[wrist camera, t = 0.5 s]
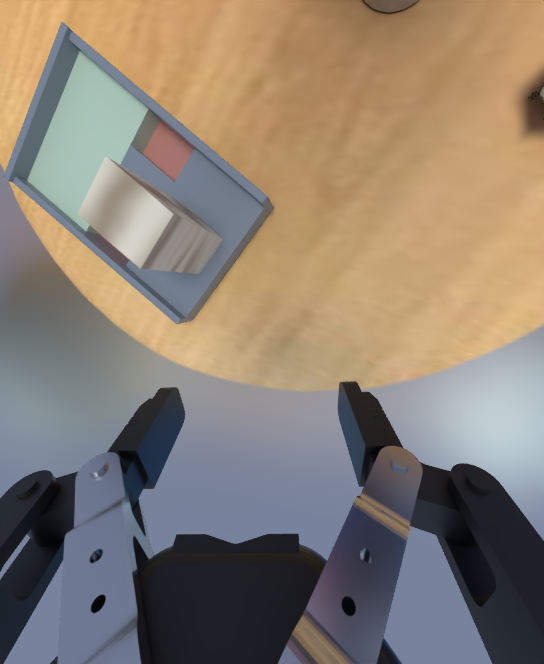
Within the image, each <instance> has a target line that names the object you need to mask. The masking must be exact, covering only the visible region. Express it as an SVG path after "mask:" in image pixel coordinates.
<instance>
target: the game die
mask: <svg viewBox="0 0 544 664" xmlns="http://www.w3.org/2000/svg"><path fill="white" fill-rule="evenodd" d="M538 95H539V96H540V98H541V99H542V101H543V103H544V84H543V86H542V88H541V90H540V91H539V92H537V91H536V92H535V93H532V94H531V95H530V96H529V97H528V98H532V99H533V98H536V97H537V96H538ZM542 124H544V119H543V123H542Z"/></svg>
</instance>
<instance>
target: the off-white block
mask: <svg viewBox="0 0 544 664" xmlns="http://www.w3.org/2000/svg"><path fill="white" fill-rule="evenodd" d="M78 215H79V216H80V217H81V218H82V219H83V220H85V221H86V222H87V223H88V224H89V225H90V226H92V227H93V228H94V229H95V230H96V231H97V232H98V233H100V234H101V235H102V236H103V237H104V238H105V239H107V240H108V241H109V242H110V243H111V244H112V245H114V246H115V247H116V248H117V249H118V250H119V251H120V252H122V253H123V254H124V255H125V256H126V257H127V258H129V259H130V260H131V261H132V262H133V263H134V264H136V265H137V266H138V267H139V268H140V269H148V270H159V271H169V272H179V273H190V274H201V272H202V271H203V269H204V268H205V266H206V265H207V264H208V262H209V261H210V259H211V258H212V256H213V255H214V253H215V252H216V250H217V249H218V248H219V246H220V245H221V243H222V242H223V240H224V239H223V238H222V237H221V236H220V235H219V234H217V233H216V232H215V231H214V230H213V229H211V228H210V227H209V226H208V225H207V224H206V223H204V222H203V221H202V220H201V219H200V218H199V217H197V216H196V215H195V214H194V213H193V212H192V211H190V210H189V209H188V208H187V207H186V206H185V205H183V204H182V203H181V202H180V201H178V200H177V199H175V198H173V197H172V196H170V195H168V194H167V193H165V192H164V191H162V190H160V189H159V188H157V187H155V186H154V185H152V184H151V183H149V182H147V181H146V180H144V179H142V178H141V177H139V176H138V175H136V174H134V173H133V172H131V171H129V170H128V169H126V168H125V167H123V166H121V165H120V164H118V163H116V162H115V161H113V160H112V159H110V158H108V157H107V156H105V158H104V160H103V162H102V164H101V166H100V169H99V171H98V173H97V175H96V177H95V179H94V181H93V183H92V185H91V187H90V189H89V191H88V193H87V195H86V197H85V199H84V201H83V204H82V206H81V208H80V210H79V212H78Z"/></svg>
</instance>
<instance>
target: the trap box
mask: <svg viewBox="0 0 544 664" xmlns="http://www.w3.org/2000/svg"><path fill="white" fill-rule="evenodd" d="M105 156H107V157H108V158H110V159H112V160H113V161H115V162H116V163H118V164H120V165H121V166H123V167H125V168H126V169H128V170H129V171H131V172H133V173H134V174H136V175H138V176H139V177H141V178H142V179H144V180H146V181H147V182H149V183H151V184H152V185H154V186H155V187H157V188H159V189H160V190H162V191H164V192H165V193H167V194H168V195H170V196H172V197H173V198H175V199H177V200H178V201H180V202H181V203H182V204H183V205H185V206H186V207H187V208H188V209H189V210H190V211H192V212H193V213H194V214H195V215H196V216H197V217H199V218H200V219H201V220H202V221H203V222H204V223H206V224H207V225H208V226H209V227H210V228H211V229H213V230H214V231H215V232H216V233H217V234H219V235H220V236H221V237H222V238H223V239H224V240H223V242H222V243H221V245H220V246H219V248H218V249H217V250H216V252H215V253H214V255H213V256H212V258H211V259H210V261H209V262H208V264H207V265H206V266H205V268H204V269H203V271H202V272H201V274H190V273H179V272H169V271H159V270H148V269H140V268H139V267H138V266H137V265H136V264H134V263H133V262H132V261H131V260H130V259H129V258H127V257H126V256H125V255H124V254H123V253H122V252H120V251H119V250H118V249H117V248H116V247H115V246H114V245H112V244H111V243H110V242H109V241H108V240H107V239H105V238H104V237H103V236H102V235H101V234H100V233H98V232H97V231H96V230H95V229H94V228H93V227H92V226H90V225H89V224H88V223H87V222H86V221H85V220H83V219H82V218H81V217H80V216H79V215H78V212H79V210H80V208H81V206H82V204H83V201H84V199H85V197H86V195H87V193H88V191H89V189H90V187H91V185H92V183H93V181H94V179H95V177H96V175H97V173H98V171H99V169H100V166H101V164H102V162H103V160H104V158H105ZM4 177H5V178H6V179H7V180H8V181H10V182H13V183H14V184H15V185H16V186H18V187H19V188H20V189H21V190H22V191H23V192H25V193H26V194H27V195H28V196H29V197H30V198H32V199H33V200H34V201H35V202H36V203H37V204H38V205H40V206H41V207H42V208H43V209H44V210H45V211H47V212H48V213H49V214H50V215H51V216H52V217H53V218H55V219H56V220H57V221H58V222H59V223H60V224H62V225H63V226H64V227H65V228H66V229H67V230H68V231H70V232H71V233H72V234H73V235H74V236H75V237H77V238H78V239H79V240H80V241H81V242H82V243H84V244H85V245H86V246H87V247H88V248H89V249H90V250H92V251H93V252H94V253H95V254H96V255H97V256H99V257H100V258H101V259H102V260H103V261H104V262H105V263H107V264H108V265H109V266H110V267H111V268H112V269H114V270H115V271H116V272H117V273H118V274H119V275H120V276H122V277H123V278H124V279H125V280H126V281H127V282H129V283H130V284H131V285H132V286H133V287H134V288H135V289H137V290H138V291H139V292H140V293H141V294H142V295H144V296H145V297H146V298H147V299H148V300H149V301H151V302H152V303H153V304H154V305H155V306H156V307H157V308H159V309H160V310H161V311H162V312H163V313H164V314H166V315H167V316H168V317H169V318H170V319H171V320H172V321H174V322H175V323H176V324H180V323H184V322H187V321H191V320H193V319H194V317H195V316H196V315H197V313H198V312H199V310H200V309H201V308H202V306H203V305H204V304H205V302H206V301H207V299H208V298H209V297H210V295H211V294H212V292H213V291H214V290H215V288H216V287H217V286H218V284H219V283H220V281H221V280H222V279H223V277H224V276H225V274H226V273H227V272H228V270H229V269H230V268H231V266H232V265H233V263H234V262H235V261H236V259H237V258H238V256H239V255H240V254H241V252H242V251H243V250H244V248H245V247H246V245H247V244H248V243H249V241H250V240H251V239H252V237H253V236H254V234H255V233H256V232H257V230H258V229H259V227H260V226H261V225H262V223H263V222H264V221H265V219H266V218H267V216H268V215H269V214H270V212H271V211H272V209H273V208H274V207H273V206H272V204H271V202H270V200H269V198H268V197H267V196H266V195H265V194H264V193H263V192H262V191H260V190H259V189H258V188H257V187H256V186H255V185H253V184H252V183H251V182H250V181H249V180H247V179H246V178H245V177H244V176H243V175H242V174H240V173H239V172H238V171H237V170H236V169H235V168H233V167H232V166H231V165H230V164H229V163H227V162H226V161H225V160H224V159H223V158H222V157H220V156H219V155H218V154H217V153H216V152H214V151H213V150H212V149H211V148H210V147H209V146H207V145H206V144H205V143H204V142H203V141H201V140H200V139H199V138H198V137H197V136H196V135H194V134H193V133H192V132H191V131H190V130H188V129H187V128H186V127H185V126H184V125H183V124H181V123H180V122H179V121H178V120H177V119H175V118H174V117H173V116H172V115H171V114H170V113H168V112H167V111H166V110H165V109H164V108H162V107H161V106H160V105H159V104H158V103H157V102H155V101H154V100H153V99H152V98H151V97H149V96H148V95H147V94H146V93H145V92H144V91H142V90H141V89H140V88H139V87H138V86H137V85H135V84H134V83H133V82H132V81H131V80H129V79H128V78H127V77H126V76H125V75H124V74H122V73H121V72H120V71H119V70H118V69H116V68H115V67H114V66H113V65H112V64H111V63H109V62H108V61H107V60H106V59H105V58H103V57H102V56H101V55H100V54H99V53H98V52H96V51H95V50H94V49H93V48H92V47H90V46H89V45H88V44H87V43H86V42H85V41H83V40H82V39H81V38H80V37H79V36H77V35H76V34H75V33H74V32H73V31H72V30H71V29H70V28H69V27H68V26H67V25H65V24H64V23H63V22H61V25H60V28H59V30H58V33H57V35H56V38H55V41H54V43H53V46H52V49H51V51H50V54H49V57H48V59H47V62H46V65H45V67H44V70H43V73H42V75H41V78H40V81H39V83H38V86H37V89H36V91H35V94H34V97H33V99H32V102H31V105H30V107H29V110H28V113H27V115H26V118H25V121H24V123H23V126H22V128H21V131H20V134H19V136H18V139H17V142H16V144H15V147H14V150H13V152H12V155H11V158H10V160H9V163H8V166H7V168H6V171H5V174H4Z"/></svg>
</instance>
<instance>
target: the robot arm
mask: <svg viewBox="0 0 544 664" xmlns="http://www.w3.org/2000/svg"><path fill="white" fill-rule="evenodd" d="M364 1H365V3H367V4H368V5H369V6H370V7H372V8H373V9H376V10H378V11H382V12H395V11H399V10H402V9H405V8H407V7H409V6H411V5H412V4H414V3H416V2H417V1H418V0H364ZM338 414H339V420H340V423H341V427H342V430H343V434H344V437H345V440H346V444H347V447H348V450H349V454H350V457H351V461H352V464H353V467H354V470H355V474H356V478H357V481H358V484H359V486H364V488H363V490H362V493H361V495H360V496H357V498H356V499H355V501H354V503H353V505H352V507H351V510H350V512H349V514H348V516H347V518H346V521H345V523H344V525H343V527H342V529H341V532H340V534H339V536H338V539H337V541H336V543H335V545H334V547H333V549H332V552H331V554H330V556H329V558H328V560H327V561H326V560H325V559H324V558H323V557H322V556H321V555H319V554H318V553H317V552H315V551H313V550H312V549H310V548H308V547H306V546H303V545H300V544H299V536H298V534H267V535H263V536H260V537H257V538H254V539H251V540H248V541H245V542H242V543H239V544H233V543H230V542H227V541H224V540H221V539H218V538H215V537H212V536H209V535H206V534H201V535H200V534H191V535H190V534H189V535H188V534H184V535H183V534H182V535H181V534H180V535H176V538H175V541H174V544H173V546H171V547H169V548H167V549H165V550H163V551H161V552H159V553H158V554H156V555H154V552H153V549H152V547H151V544H150V540H149V536H148V531H147V526H146V521H145V517H144V512H143V507H142V503H141V499H140V497H139V496H140V494H141V492H142V490H143V489H154V487H155V485H156V483H157V480H158V478H159V476H160V474H161V472H162V469H163V467H164V465H165V463H166V461H167V458H168V456H169V454H170V452H171V450H172V447H173V445H174V443H175V441H176V439H177V436H178V434H179V432H180V430H181V427H182V425H183V423H184V419H185V410H184V407H183V403H182V400H181V397H180V393H179V390H178V389H177V388H175V387H173V388H172V387H171V388H160V389H159V390H158V392H157V393H156V395H155V396H154V397H153V399H148V400H147V401H146V402H145V403H143V404H142V405H141V406H140V407H139V408H138V410H137V411H136V412H135V414H134V416H133V417H132V418H131V419H130V421H129V422H128V424H127V425H126V426H125V428H124V429H123V431H122V432H121V433H120V435H119V436H118V438H117V439H116V440H115V442H114V443H113V445H112V446H111V447H110V449H109V450H108V452H107V453H103V454H100V455H98V456H96V457H94V458H92V459H91V460H89V461H88V462H87V463H86V464H85V465H83V467H82V468H81V469H80V470H79V471H78V472H75V473H72V474H69V475H65V476H62V477H58V478H55V477H54V476H53V474H52V473H51V472H50V471H47V470H43V471H38V472H35V473H32V474H30V475H28V476H26V477H24V478H23V479H21V480H20V481H18V482H17V483H15V484H14V485H13V486H12V487H11V488H10V489H9V490H8V491H7V492H6V493H5V494H4V495H3V496H2V497H1V498H0V571H1V569H2V567H3V566H4V564H5V563H6V561H7V560H8V559H9V557H10V556H11V554H12V553H13V552H14V550H15V549H16V548H17V546H18V545H19V544H20V542H21V541H22V540H23V538H24V537H25V535H26V534H27V535H28V536H29V537H30V539H29V541H28V542H27V543H26V545H25V546H24V547H23V549H22V550H21V552H20V553H19V554H18V556H17V557H16V559H15V560H14V561H13V563H12V564H11V566H10V567H9V569H8V570H7V572H6V573H5V574H4V575H3V577H2V578H1V580H0V664H3V663H4V662H5V660H6V658H7V656H8V655H9V653H10V651H11V650H12V648H13V646H14V644H15V642H16V641H17V639H18V637H19V636H20V634H21V632H22V630H23V629H24V627H25V625H26V623H27V622H28V620H29V618H30V616H31V615H32V613H33V611H34V610H35V608H36V606H37V604H38V603H39V601H40V599H41V597H42V596H43V594H44V592H45V590H46V588H47V587H48V585H49V583H50V582H51V580H52V578H53V577H54V575H55V573H56V571H57V570H58V568H59V566H60V564H61V563H62V561H63V575H62V592H61V609H60V626H59V645H58V656H57V657H56V658H55V659H54V660H53V661H52V662H51V663H50V664H402V663H401V662H400V660H399V659H398V657H397V656H396V654H395V653H394V652H393V650H392V649H391V647H390V646H389V645H388V643H387V642H386V640H385V639H384V632H385V628H386V624H387V620H388V616H389V612H390V608H391V604H392V600H393V596H394V592H395V588H396V583H397V580H398V576H399V572H400V567H401V563H402V559H403V555H404V551H405V547H406V543H407V538H408V535H409V526H412V527H415V528H418V529H421V530H424V531H426V532H430V533H432V534H435V535H436V536H437V538H438V540H439V543H440V545H441V547H442V549H443V552H444V554H445V556H446V558H447V561H448V563H449V565H450V568H451V570H452V572H453V574H454V577H455V579H456V581H457V584H458V586H459V588H460V591H461V593H462V595H463V597H464V600H465V602H466V604H467V606H468V608H469V611H470V613H471V616H472V618H473V620H474V623H475V625H476V627H477V629H478V632H479V634H480V636H481V639H482V641H483V643H484V645H485V648H486V650H487V652H488V655H489V657H490V659H491V661H492V663H493V664H544V541H543V540H542V538H541V537H540V535H539V534H538V533H537V532H536V530H535V529H534V528H533V526H532V525H531V524H530V522H529V521H528V520H527V518H526V517H525V516H524V514H523V513H522V512H521V510H520V509H519V508H518V506H517V505H516V504H515V502H514V501H513V500H512V498H511V497H510V496H509V495H508V493H507V492H506V491H505V489H504V488H503V487H502V485H501V484H500V483H499V482H498V481H497V480H496V479H495V478H494V477H493V476H492V475H491V474H489V473H488V472H486V471H485V470H483V469H481V468H479V467H476V466H474V465H470V464H457V465H455V466H453V468H452V469H451V471H447V470H443V469H439V468H435V467H432V466H429V465H425V464H423V463H421V462H419V460H418V459H417V458H416V457H415V456H414V455H413V454H412V453H410V452H409V451H408V450H406V449H404V448H403V446H402V445H401V443H400V441H399V439H398V437H397V435H396V433H395V431H394V430H393V428H392V426H391V424H390V422H389V420H388V418H386V414H385V413H384V411H383V410H382V407H381V405H380V403H379V401H378V400H377V399H376V398H375V397H374V396H373V395H372V394H371V393H370V392H361V390H360V387H359V385H358V383H357V382H356V381H353V382H340V385H339V397H338Z"/></svg>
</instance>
